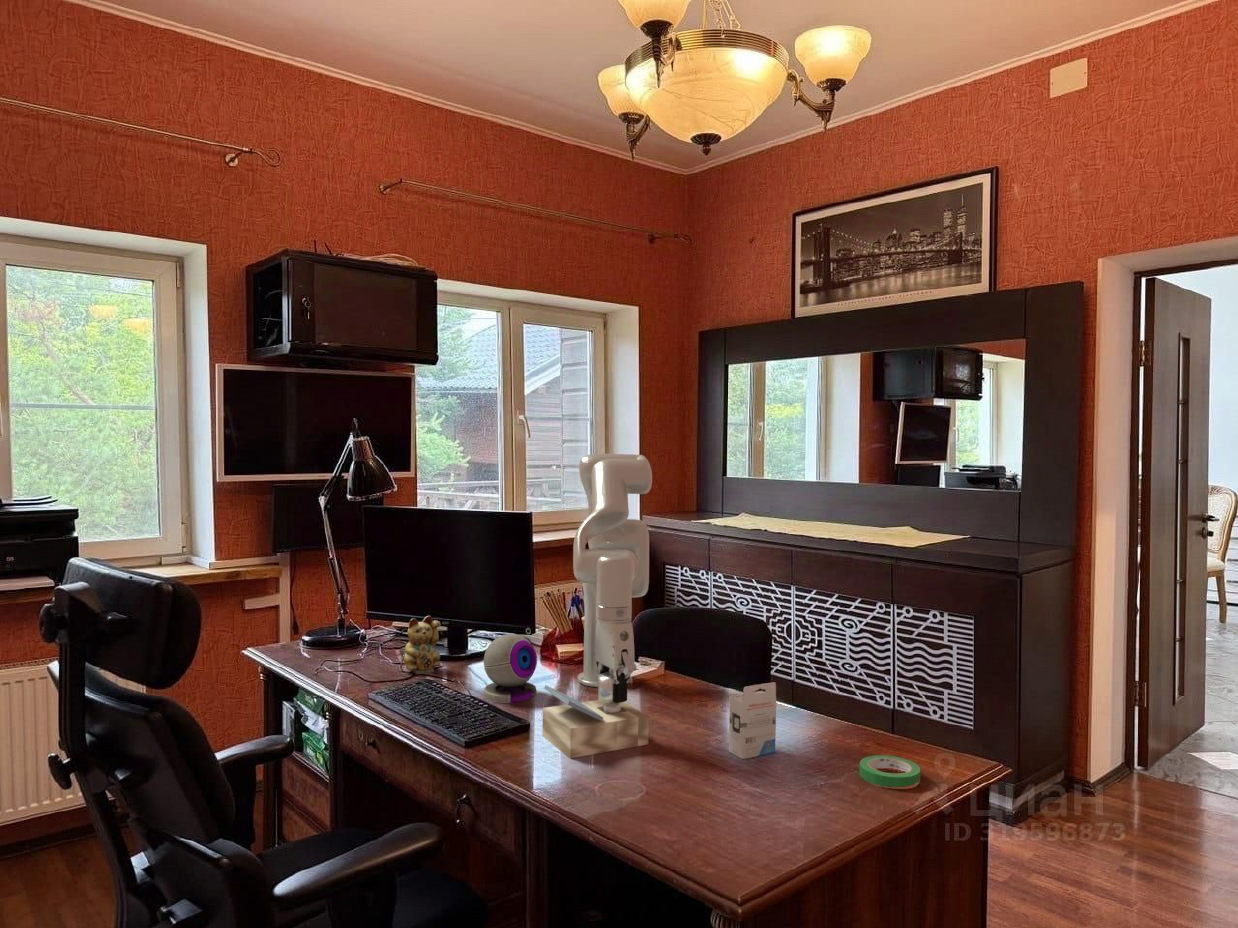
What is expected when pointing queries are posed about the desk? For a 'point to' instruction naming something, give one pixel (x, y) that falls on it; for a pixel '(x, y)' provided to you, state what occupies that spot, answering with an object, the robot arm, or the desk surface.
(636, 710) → the block
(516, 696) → the webcam
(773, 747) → the ink box
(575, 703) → the plate
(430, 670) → the decorative figurine
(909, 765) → the tape roll
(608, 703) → the light bulb
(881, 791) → the desk surface
